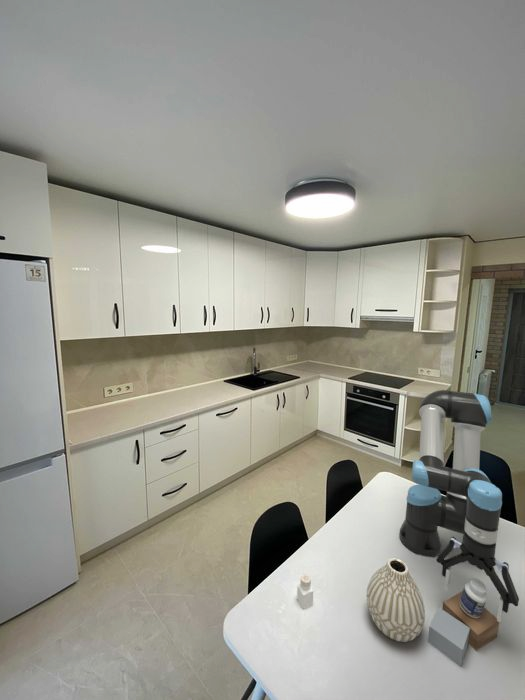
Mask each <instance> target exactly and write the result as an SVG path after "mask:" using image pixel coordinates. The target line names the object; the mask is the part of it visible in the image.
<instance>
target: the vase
mask: <svg viewBox="0 0 525 700" xmlns="http://www.w3.org/2000/svg"><path fill="white" fill-rule="evenodd" d="M408 567H409V566H408V565H407V564H406V563H405V562H404V561H403V560H401V559H399V558H396V557H391V558H389V559H388V560H387V562H386V563H385V565H383V566H381V567H380V568H379V569H377V570H376V571H375V572H374V573H373V574H372V576H371V577H370V580H369V582H368V583H367V587H366V602H367V603H366V604H367V608H368V612H369V615H370V617H371V619H372V620H373V622H374V624H375V626H376V627H377V629H379V631H381V632H382V633H383V634H384V635H385V636H387V637H388V638H390V639H391V640H394V641H396V642H402V643H406V642H410V641H413V640H414V639H416V638H417V637H418V636H419V635H420V634H421V632H422V630H423V628H424V624H425V619H426V609H425V604H424V600H423V596H422V594H421V591H420V589H419V587H418V585H417V584H416V582H415V580H414V578H413V577H412V576H411V574H410V570H409V568H408Z"/></svg>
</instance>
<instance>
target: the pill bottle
mask: <svg viewBox="0 0 525 700" xmlns="http://www.w3.org/2000/svg"><path fill="white" fill-rule="evenodd" d="M487 590H488V589H487V586H486V585H485V584H484V582H482V581H481V580H480V579H478V578H475V577H473V578H471V579H469V582H465V585H464V586H463V590H462V591H463V592H462V591H461V592H462V595H461V598H460V606H461V608H462V610H463V611H464V612H465V613H466V614H467V615H469V616H470V617H472V618H479V617H480V616H481V614H482V611H483V609H484V608H485V606H486V604H487V601H488V596H487Z"/></svg>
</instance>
